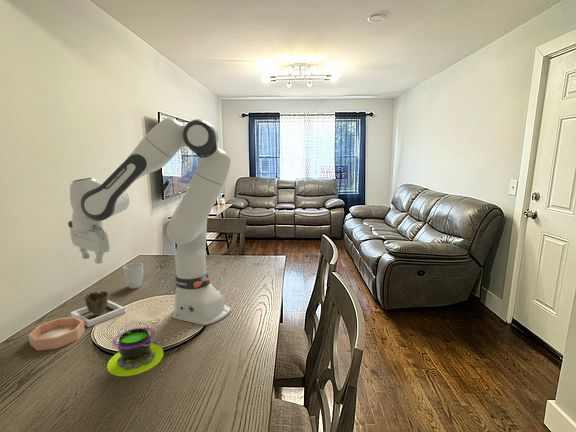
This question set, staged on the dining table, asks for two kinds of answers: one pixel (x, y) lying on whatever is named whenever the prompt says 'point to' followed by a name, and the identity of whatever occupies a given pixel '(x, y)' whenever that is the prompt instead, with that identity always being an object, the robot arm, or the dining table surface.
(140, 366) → the toy cauldron
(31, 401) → the dining table surface
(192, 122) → the robot arm
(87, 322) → the open white square frame
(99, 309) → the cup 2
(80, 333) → the bowl
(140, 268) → the cup
